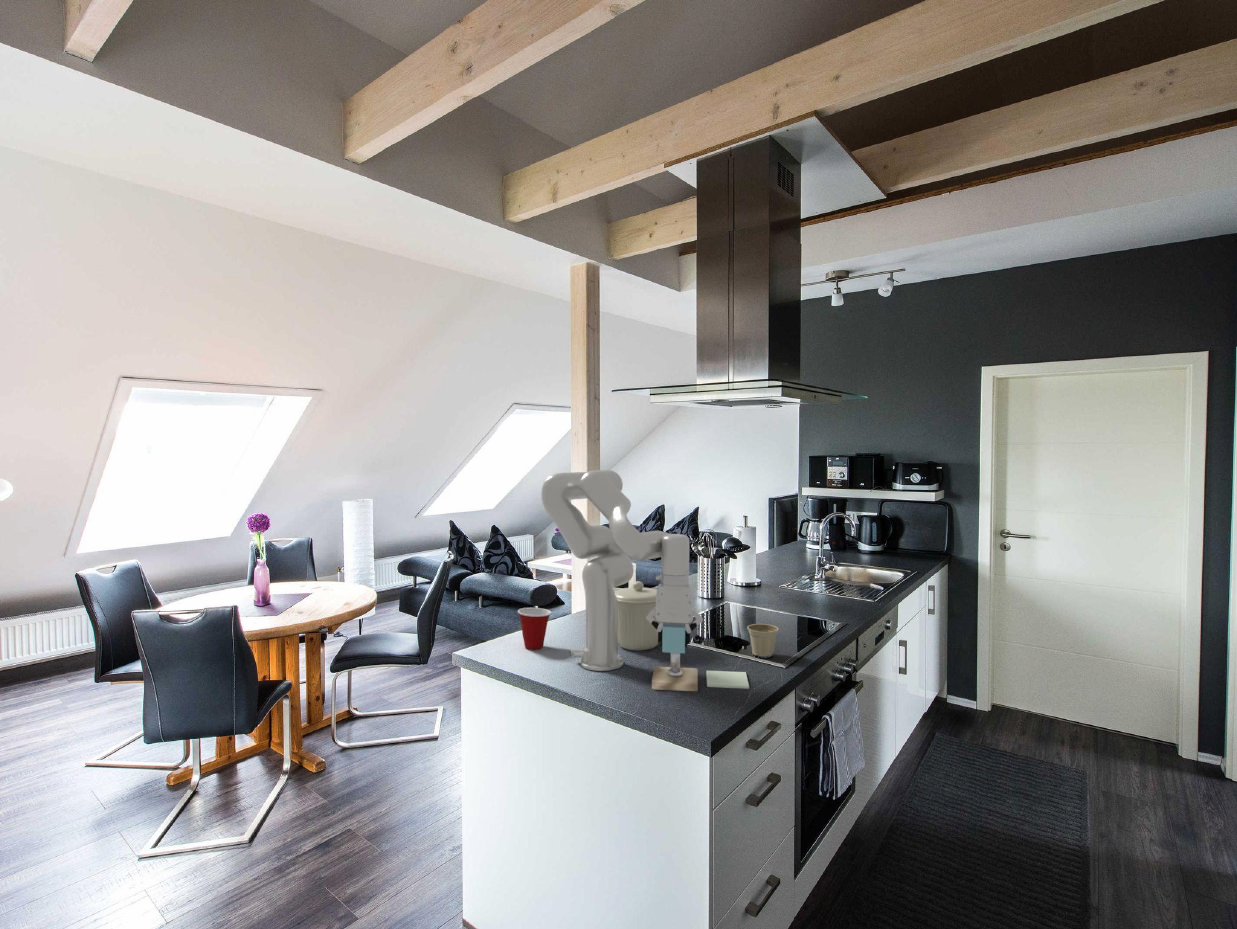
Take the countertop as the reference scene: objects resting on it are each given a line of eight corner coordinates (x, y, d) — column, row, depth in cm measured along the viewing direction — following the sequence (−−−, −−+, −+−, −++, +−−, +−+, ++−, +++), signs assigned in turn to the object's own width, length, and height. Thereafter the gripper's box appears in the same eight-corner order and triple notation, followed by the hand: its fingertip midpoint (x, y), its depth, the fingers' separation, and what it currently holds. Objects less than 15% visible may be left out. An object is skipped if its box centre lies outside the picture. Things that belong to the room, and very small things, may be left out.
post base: (651, 689, 165) (651, 681, 165) (654, 673, 176) (654, 666, 176) (697, 691, 163) (697, 683, 163) (697, 675, 175) (697, 668, 175)
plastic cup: (555, 650, 198) (555, 612, 198) (521, 654, 194) (521, 615, 194) (546, 640, 208) (546, 604, 208) (514, 644, 204) (514, 607, 204)
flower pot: (741, 652, 195) (741, 625, 195) (766, 649, 198) (767, 622, 198) (758, 662, 186) (758, 633, 186) (784, 658, 190) (784, 630, 190)
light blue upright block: (662, 652, 167) (662, 627, 167) (663, 645, 173) (663, 620, 173) (684, 653, 167) (685, 628, 166) (685, 646, 173) (685, 622, 172)
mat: (707, 686, 166) (707, 684, 166) (706, 672, 177) (706, 670, 177) (749, 688, 165) (749, 686, 165) (745, 674, 176) (745, 672, 176)
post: (667, 677, 168) (667, 643, 168) (668, 672, 172) (668, 639, 172) (682, 677, 168) (682, 644, 167) (682, 672, 172) (682, 639, 171)
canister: (666, 638, 210) (666, 576, 210) (665, 655, 192) (665, 587, 192) (613, 637, 212) (613, 575, 212) (607, 654, 194) (607, 586, 194)
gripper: (642, 581, 167) (641, 648, 167) (707, 584, 165) (706, 652, 165) (644, 576, 174) (643, 640, 175) (706, 578, 172) (705, 643, 173)
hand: (673, 645), depth 170 cm, fingers closed on light blue upright block, 5 cm apart
